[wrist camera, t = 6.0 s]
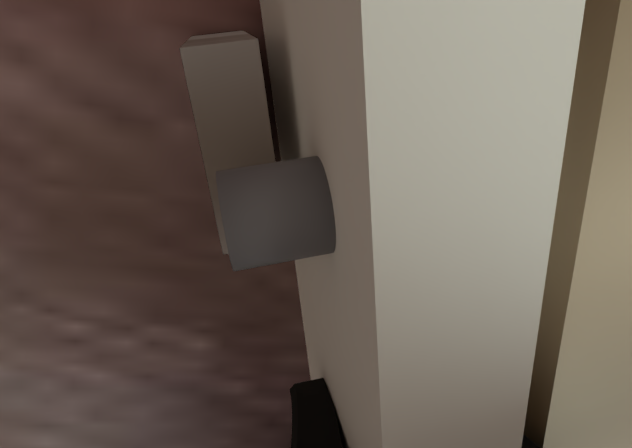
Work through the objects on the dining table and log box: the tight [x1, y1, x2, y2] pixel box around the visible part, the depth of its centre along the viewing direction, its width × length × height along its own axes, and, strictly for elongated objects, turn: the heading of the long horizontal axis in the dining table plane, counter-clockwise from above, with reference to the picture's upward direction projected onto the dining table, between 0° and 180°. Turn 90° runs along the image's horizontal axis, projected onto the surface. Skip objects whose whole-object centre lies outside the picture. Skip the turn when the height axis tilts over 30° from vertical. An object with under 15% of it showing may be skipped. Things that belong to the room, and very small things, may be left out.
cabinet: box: [179, 0, 632, 448], centre depth 11 cm, size 20×15×6 cm
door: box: [216, 0, 586, 448], centre depth 9 cm, size 16×3×7 cm, turn 6°
